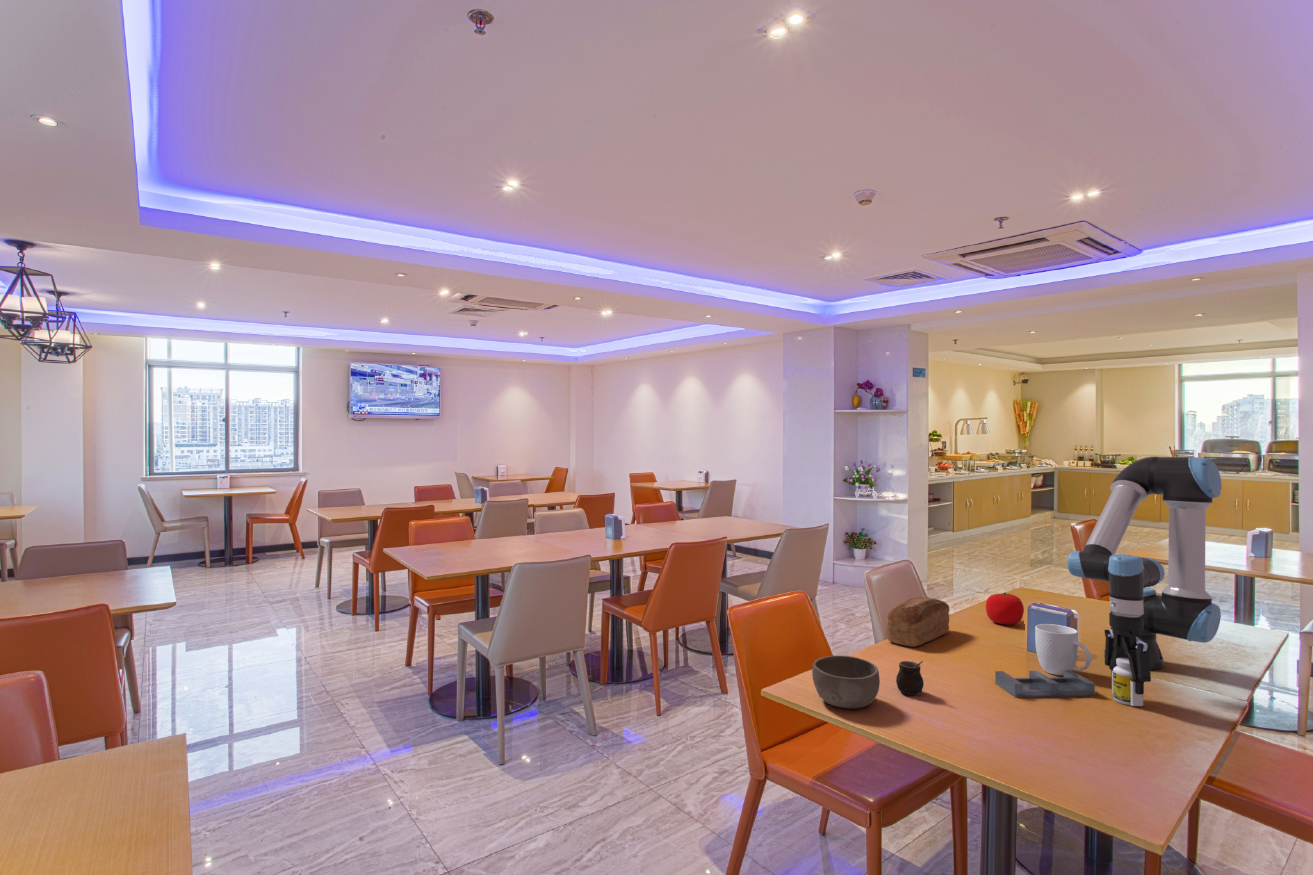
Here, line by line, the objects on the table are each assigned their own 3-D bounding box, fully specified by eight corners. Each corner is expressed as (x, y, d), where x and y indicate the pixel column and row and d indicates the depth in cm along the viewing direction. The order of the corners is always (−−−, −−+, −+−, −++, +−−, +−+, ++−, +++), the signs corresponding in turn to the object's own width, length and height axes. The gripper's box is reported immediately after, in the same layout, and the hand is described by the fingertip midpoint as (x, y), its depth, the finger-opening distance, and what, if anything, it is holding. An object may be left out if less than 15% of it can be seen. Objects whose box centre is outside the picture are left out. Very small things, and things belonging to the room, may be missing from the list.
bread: (954, 632, 239) (954, 595, 239) (915, 651, 218) (915, 610, 219) (922, 626, 248) (922, 590, 248) (881, 643, 227) (881, 604, 227)
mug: (1099, 677, 193) (1099, 633, 193) (1081, 685, 187) (1081, 639, 187) (1046, 663, 205) (1046, 621, 205) (1028, 670, 199) (1027, 627, 199)
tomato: (993, 627, 245) (992, 596, 245) (981, 617, 259) (981, 588, 259) (1030, 629, 243) (1029, 597, 243) (1016, 619, 257) (1015, 589, 257)
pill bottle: (1107, 697, 178) (1107, 657, 178) (1128, 696, 178) (1128, 656, 178) (1125, 707, 171) (1125, 664, 172) (1147, 706, 172) (1147, 663, 172)
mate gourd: (902, 685, 187) (902, 650, 187) (929, 693, 182) (929, 657, 182) (891, 692, 182) (891, 656, 182) (918, 700, 177) (918, 663, 177)
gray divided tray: (1071, 682, 189) (1070, 670, 189) (1094, 696, 179) (1094, 683, 179) (995, 683, 188) (995, 671, 188) (1014, 697, 178) (1014, 683, 178)
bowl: (845, 721, 164) (844, 681, 164) (798, 697, 180) (798, 660, 180) (894, 708, 172) (894, 669, 172) (846, 685, 188) (845, 650, 188)
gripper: (1088, 604, 185) (1089, 687, 184) (1139, 623, 165) (1140, 715, 165) (1114, 604, 185) (1115, 686, 184) (1168, 623, 165) (1169, 715, 165)
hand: (1127, 700), depth 175 cm, fingers closed on pill bottle, 6 cm apart
